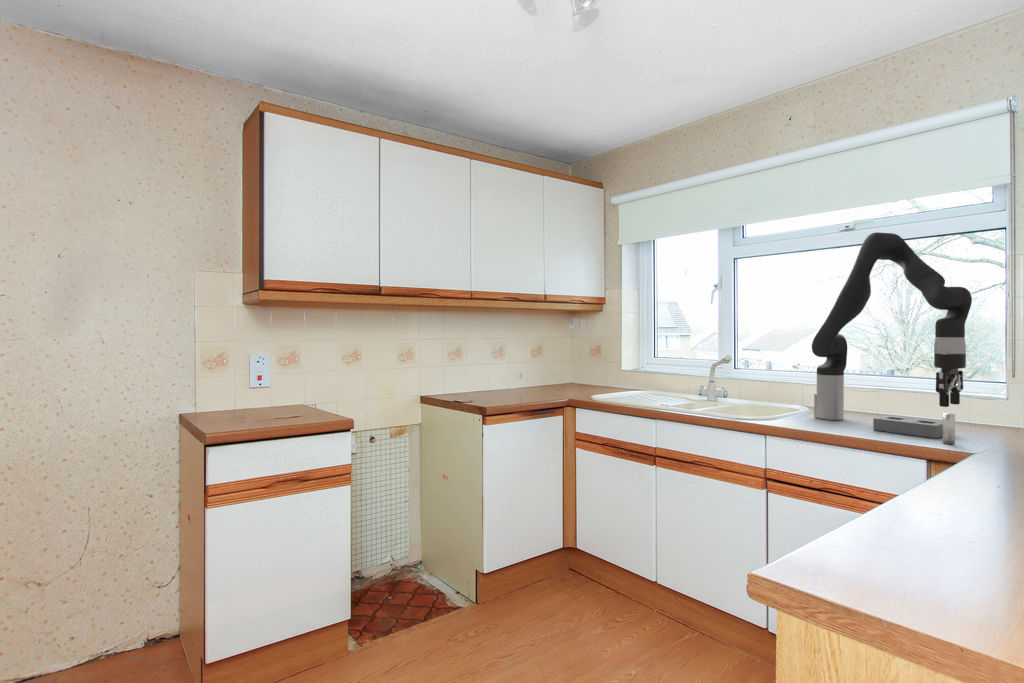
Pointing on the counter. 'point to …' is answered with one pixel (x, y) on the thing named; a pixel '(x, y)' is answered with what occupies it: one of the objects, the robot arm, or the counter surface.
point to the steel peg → (948, 428)
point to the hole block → (908, 426)
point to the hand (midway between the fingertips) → (949, 405)
